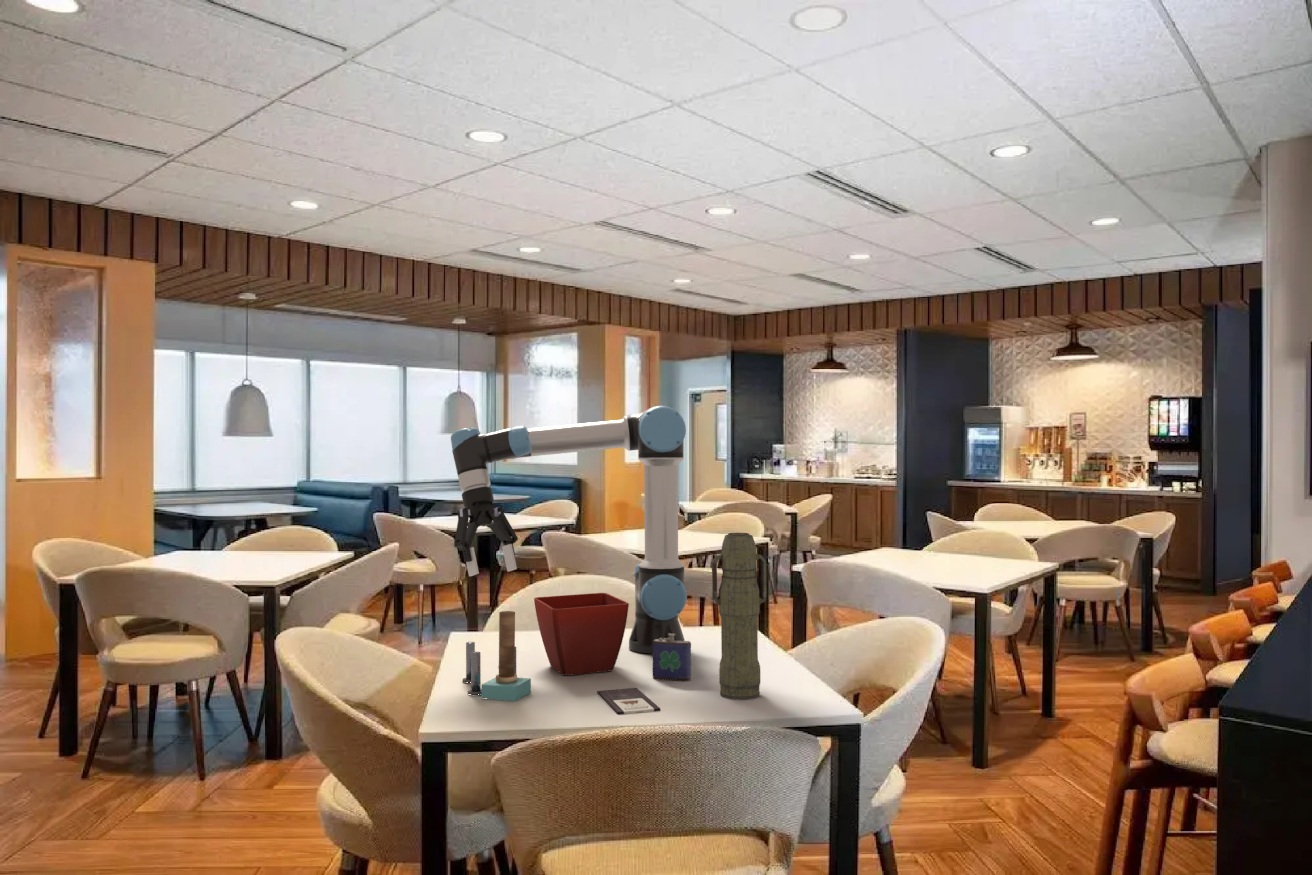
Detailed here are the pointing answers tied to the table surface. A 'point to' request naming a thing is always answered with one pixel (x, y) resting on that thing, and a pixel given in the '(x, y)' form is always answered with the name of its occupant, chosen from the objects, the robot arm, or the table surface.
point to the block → (506, 689)
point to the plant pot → (582, 631)
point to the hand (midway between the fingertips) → (493, 572)
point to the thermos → (739, 615)
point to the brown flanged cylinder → (506, 648)
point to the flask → (671, 659)
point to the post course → (475, 668)
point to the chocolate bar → (628, 701)
